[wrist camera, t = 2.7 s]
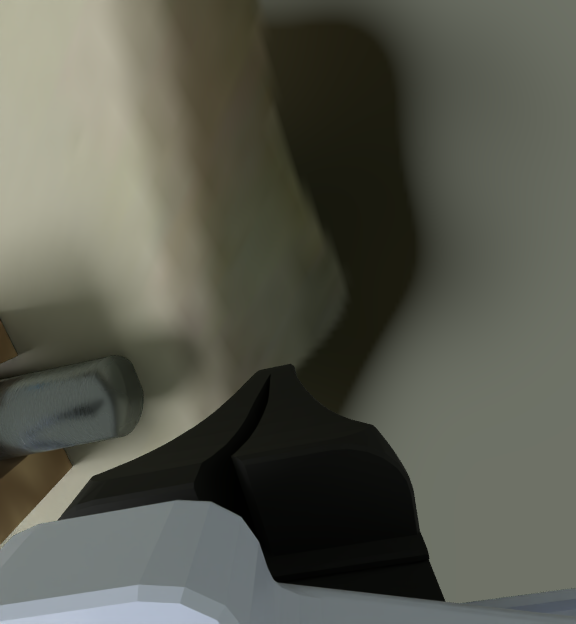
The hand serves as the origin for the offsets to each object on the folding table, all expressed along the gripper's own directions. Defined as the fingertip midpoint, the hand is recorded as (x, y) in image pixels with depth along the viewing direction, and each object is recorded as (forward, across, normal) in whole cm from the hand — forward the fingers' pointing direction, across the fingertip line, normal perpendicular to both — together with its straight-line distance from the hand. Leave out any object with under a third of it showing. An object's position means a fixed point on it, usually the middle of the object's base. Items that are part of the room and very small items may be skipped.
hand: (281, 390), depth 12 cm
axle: (+5, +15, 0) cm, 16 cm away
